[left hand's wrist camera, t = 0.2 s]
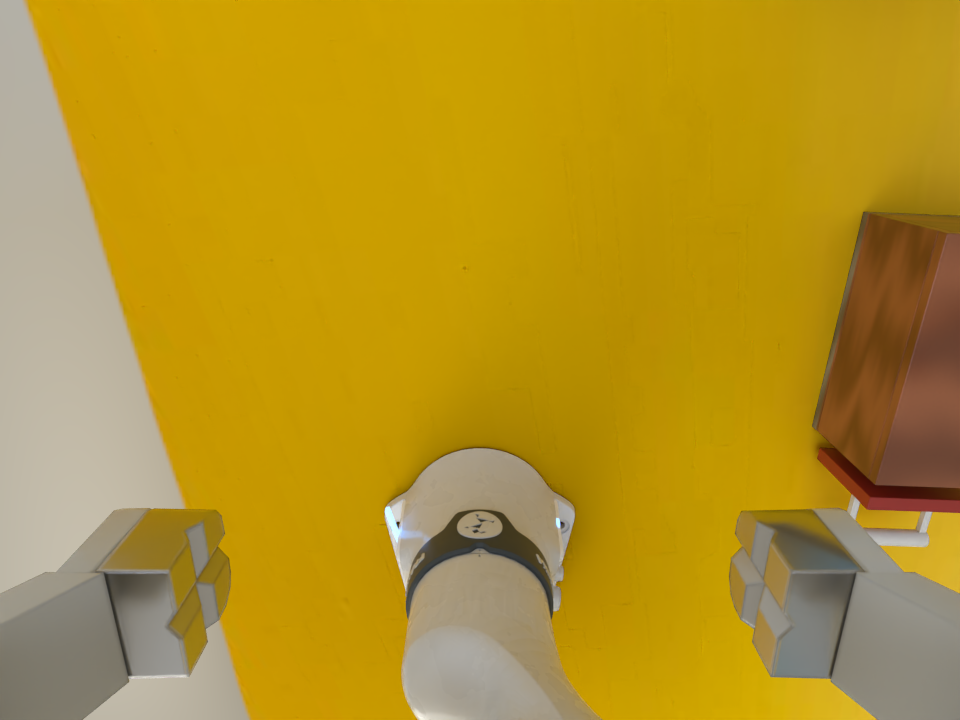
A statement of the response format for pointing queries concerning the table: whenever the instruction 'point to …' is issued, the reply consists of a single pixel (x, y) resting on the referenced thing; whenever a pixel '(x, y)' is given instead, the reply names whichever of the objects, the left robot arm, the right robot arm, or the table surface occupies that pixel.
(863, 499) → the drawer
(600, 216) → the table surface
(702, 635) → the table surface
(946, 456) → the cabinet
